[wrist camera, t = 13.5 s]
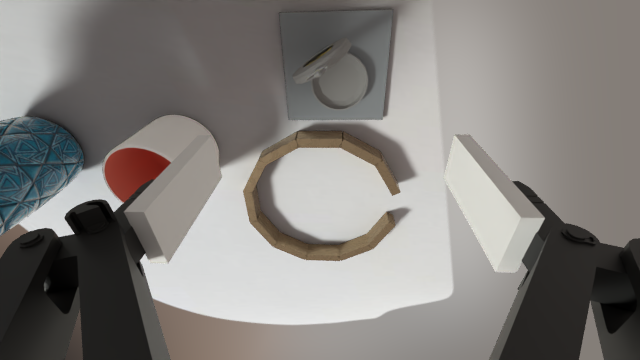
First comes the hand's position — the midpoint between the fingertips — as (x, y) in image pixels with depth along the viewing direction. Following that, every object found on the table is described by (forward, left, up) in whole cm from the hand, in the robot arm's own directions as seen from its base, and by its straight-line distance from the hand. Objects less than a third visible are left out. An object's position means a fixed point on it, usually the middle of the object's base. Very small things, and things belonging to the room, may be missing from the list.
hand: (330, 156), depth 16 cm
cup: (+10, -21, -22) cm, 32 cm away
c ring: (+19, -2, -22) cm, 29 cm away
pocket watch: (0, 0, -21) cm, 21 cm away
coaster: (0, 0, -22) cm, 22 cm away
